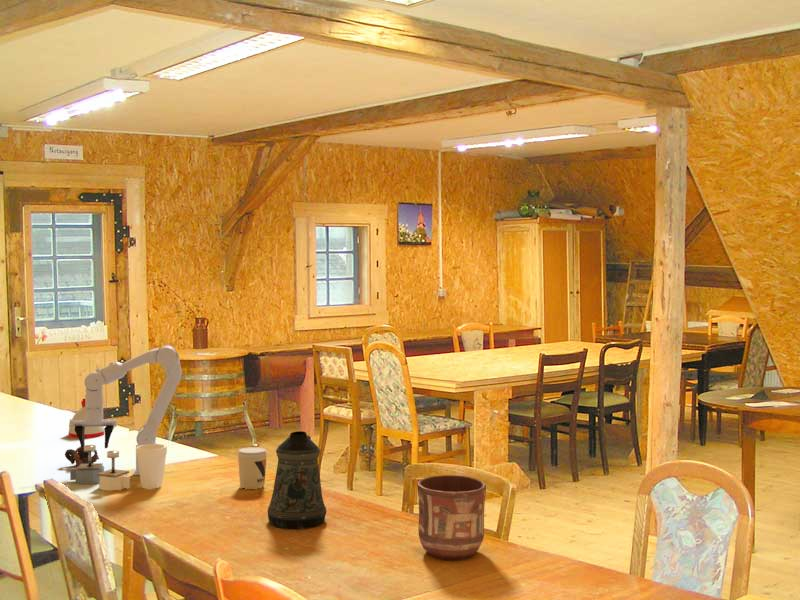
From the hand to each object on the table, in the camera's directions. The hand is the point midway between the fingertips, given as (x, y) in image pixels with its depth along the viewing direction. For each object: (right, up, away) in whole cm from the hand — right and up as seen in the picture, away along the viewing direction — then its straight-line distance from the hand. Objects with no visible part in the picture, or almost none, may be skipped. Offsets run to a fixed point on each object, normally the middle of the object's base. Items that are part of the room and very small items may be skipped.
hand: (94, 447), depth 322 cm
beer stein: (+74, -13, -52) cm, 91 cm away
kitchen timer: (-26, -6, +70) cm, 75 cm away
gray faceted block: (+1, -10, -8) cm, 13 cm away
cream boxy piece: (+11, -10, -17) cm, 23 cm away
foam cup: (+23, -10, -15) cm, 30 cm away
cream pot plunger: (+11, -6, -17) cm, 21 cm away
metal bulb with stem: (+1, -5, -8) cm, 10 cm away
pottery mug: (-9, -9, +13) cm, 18 cm away
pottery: (+116, -14, -80) cm, 142 cm away
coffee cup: (+55, -11, -14) cm, 58 cm away
